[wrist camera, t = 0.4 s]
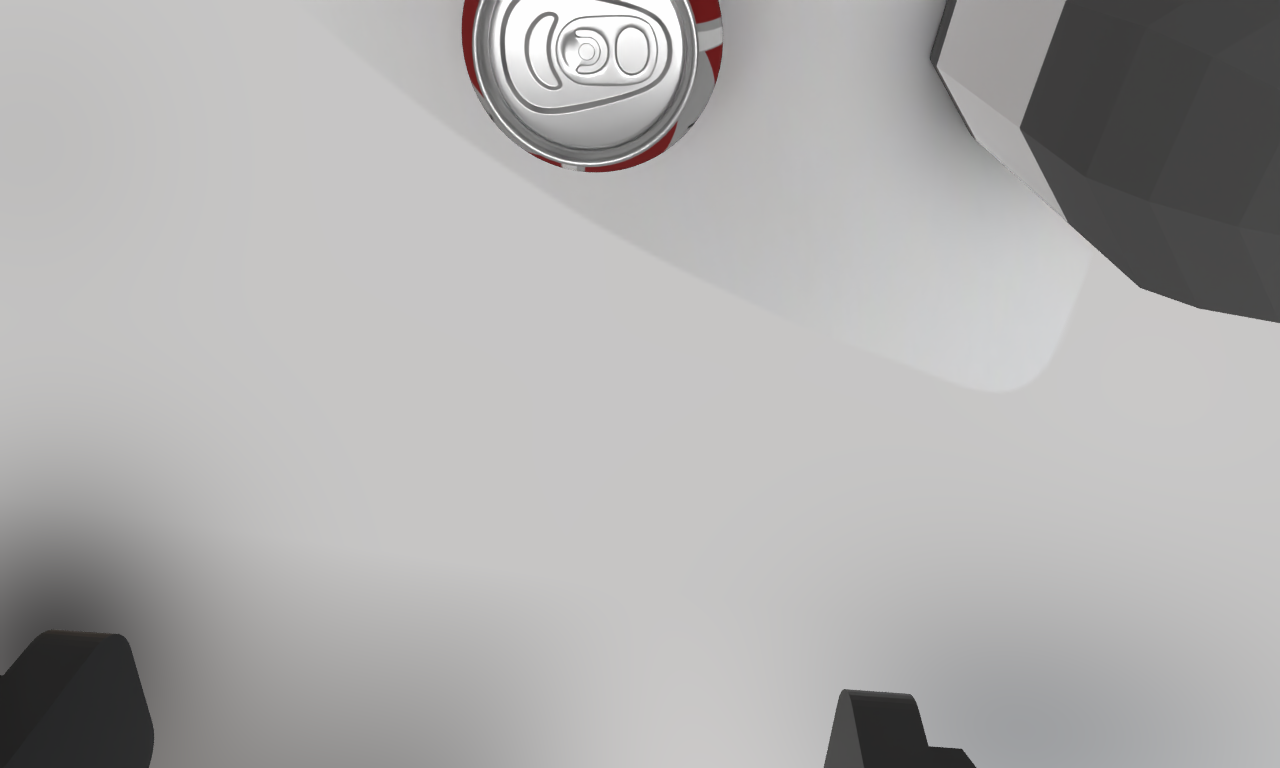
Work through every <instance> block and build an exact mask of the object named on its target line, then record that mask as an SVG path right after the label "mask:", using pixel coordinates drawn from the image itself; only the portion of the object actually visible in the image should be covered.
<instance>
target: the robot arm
mask: <svg viewBox="0 0 1280 768" xmlns="http://www.w3.org/2000/svg"><path fill="white" fill-rule="evenodd" d="M153 745H154V729H153V724H152V721H151V717H150V713H149V710H148V706H147V703H146V700H145V696H144V693H143V689H142V686H141V682H140V679H139V675H138V672H137V668H136V665H135V662H134V658H133V655H132V651H131V648H130V645H129V643H128V641H127V639H126V638H125V637H124V636H122V635H120V634H110V633H97V632H82V631H69V630H54V629H53V630H48V631H45V632H43V633H41V634H40V635H39V636H37V637H36V638H35V639H34V641H32V642H31V643H30V645H29V646H28V647H27V648H26V649H25V650H24V652H23V653H22V654H21V655H20V656H19V658H18V659H17V660H16V661H15V662H14V664H13V665H12V666H11V667H10V668H9V669H8V670H7V672H6V673H5V674H4V675H3V676H1V675H0V768H149V765H150V761H151V757H152V752H153ZM824 768H976V767H975V765H974V764H973V763H972V761H971V760H970V759H969V758H968V757H967V755H966V754H965V752H964V751H963V750H962V749H955V748H943V747H942V748H941V747H929V746H928V743H927V739H926V735H925V732H924V728H923V724H922V721H921V717H920V713H919V710H918V706H917V704H916V701H915V699H914V698H913V696H912V695H910V694H902V693H887V692H874V691H860V690H846V689H844V690H842V692H841V694H840V696H839V700H838V704H837V708H836V713H835V718H834V722H833V727H832V732H831V736H830V741H829V746H828V751H827V755H826V760H825V764H824Z"/></svg>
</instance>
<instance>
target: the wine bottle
mask: <svg viewBox="0 0 1280 768" xmlns="http://www.w3.org/2000/svg"><path fill="white" fill-rule="evenodd" d="M930 60H931V62H932V64H933V65H934V67H935V69H936V71H937V73H938V75H939V77H940V78H941V80H942V82H943V84H944V86H945V88H946V90H947V91H948V93H949V95H950V97H951V99H952V101H953V103H954V104H955V106H956V108H957V110H958V112H959V114H960V115H961V117H962V119H963V121H964V123H965V125H966V127H967V128H968V130H969V132H970V134H971V136H972V137H973V138H974V139H975V140H976V141H977V142H979V143H980V144H981V145H982V146H983V147H984V148H985V149H986V150H987V151H989V152H990V153H991V154H992V155H993V156H994V157H995V158H996V159H997V160H999V161H1000V162H1001V163H1002V164H1003V165H1004V166H1005V167H1006V168H1007V169H1009V170H1010V171H1011V172H1012V173H1013V174H1014V175H1015V176H1016V177H1017V178H1019V179H1020V180H1021V181H1022V182H1023V183H1024V184H1025V185H1026V186H1027V187H1029V188H1030V189H1031V190H1032V191H1033V192H1034V193H1035V194H1036V195H1037V196H1039V197H1040V198H1041V199H1042V200H1043V201H1044V202H1045V203H1046V204H1047V205H1049V206H1050V207H1051V208H1052V209H1053V210H1054V211H1055V212H1056V213H1058V214H1059V215H1060V216H1061V217H1062V218H1063V219H1064V220H1065V221H1066V222H1068V223H1069V224H1070V225H1071V226H1072V227H1073V228H1074V229H1075V230H1076V231H1078V232H1079V233H1080V234H1081V235H1082V236H1083V237H1084V238H1085V239H1086V240H1088V241H1089V242H1090V243H1091V244H1092V245H1093V246H1094V247H1095V248H1096V249H1098V250H1099V251H1100V252H1101V253H1102V254H1103V255H1104V256H1105V257H1107V258H1108V259H1109V260H1110V261H1111V262H1112V263H1113V264H1114V265H1115V266H1116V267H1118V268H1119V269H1120V270H1121V271H1122V272H1123V273H1124V274H1125V275H1127V276H1128V277H1129V278H1130V279H1131V280H1132V281H1133V282H1134V283H1136V285H1138V286H1139V287H1140V288H1142V289H1145V290H1148V291H1151V292H1154V293H1157V294H1160V295H1162V296H1165V297H1168V298H1171V299H1174V300H1177V301H1180V302H1182V303H1185V304H1188V305H1191V306H1194V307H1196V308H1200V309H1206V310H1211V311H1216V312H1222V313H1227V314H1233V315H1239V316H1244V317H1249V318H1255V319H1261V320H1266V321H1271V322H1277V323H1280V0H948V1H947V4H946V7H945V10H944V14H943V17H942V20H941V23H940V27H939V30H938V33H937V36H936V40H935V43H934V46H933V49H932V53H931V56H930Z"/></svg>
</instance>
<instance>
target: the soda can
mask: <svg viewBox="0 0 1280 768" xmlns="http://www.w3.org/2000/svg"><path fill="white" fill-rule="evenodd" d="M462 45H463V52H464V59H465V63H466V67H467V71H468V74H469V77H470V80H471V83H472V85H473V88H474V90H475V92H476V94H477V96H478V98H479V100H480V102H481V104H482V105H483V107H484V109H485V110H486V112H487V113H488V115H489V116H490V117H491V119H492V120H493V121H494V122H495V124H496V125H497V126H498V127H499V128H500V129H501V130H502V131H503V133H504V134H505V135H506V136H507V137H508V138H510V139H511V140H512V141H513V142H514V143H516V144H517V145H518V146H520V147H521V148H522V149H524V150H525V151H527V152H528V153H530V154H532V155H533V156H535V157H537V158H539V159H541V160H543V161H545V162H548V163H550V164H553V165H556V166H559V167H562V168H566V169H570V170H575V171H583V172H610V171H616V170H622V169H626V168H630V167H633V166H636V165H639V164H641V163H644V162H646V161H648V160H650V159H652V158H654V157H656V156H658V155H659V154H661V153H663V152H664V151H666V150H667V149H668V148H670V147H671V146H672V145H674V144H675V143H676V142H677V141H678V140H679V139H681V138H682V137H683V136H684V135H685V134H686V133H687V131H688V130H689V129H690V128H691V127H692V126H693V124H694V123H695V122H696V120H697V119H698V118H699V116H700V115H701V113H702V111H703V110H704V108H705V106H706V105H707V103H708V100H709V98H710V96H711V94H712V92H713V89H714V86H715V83H716V81H717V77H718V73H719V69H720V64H721V58H722V48H723V26H722V18H721V11H720V7H719V2H718V0H465V2H464V8H463V16H462Z"/></svg>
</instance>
